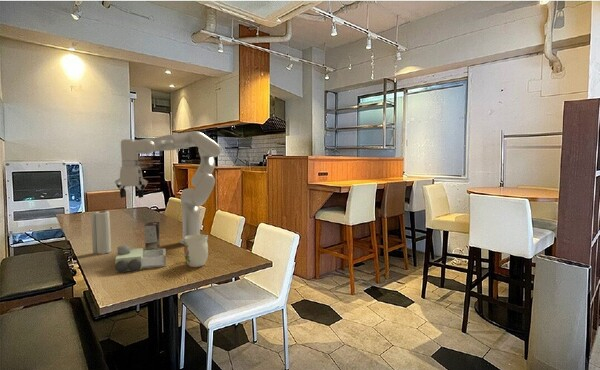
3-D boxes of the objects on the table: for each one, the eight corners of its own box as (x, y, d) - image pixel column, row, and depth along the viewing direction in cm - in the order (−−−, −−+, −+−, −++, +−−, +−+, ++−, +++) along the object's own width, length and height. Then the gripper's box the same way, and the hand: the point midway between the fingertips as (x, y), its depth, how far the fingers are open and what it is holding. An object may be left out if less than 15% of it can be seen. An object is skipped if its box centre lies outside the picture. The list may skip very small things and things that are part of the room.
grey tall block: (113, 251, 174) (112, 211, 173) (104, 254, 169) (102, 213, 167) (102, 250, 176) (101, 210, 175) (92, 253, 171) (90, 212, 169)
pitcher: (200, 257, 166) (200, 230, 165) (214, 267, 151) (214, 237, 150) (178, 261, 159) (177, 233, 158) (190, 272, 145) (189, 240, 144)
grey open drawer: (165, 258, 164) (165, 248, 164) (165, 266, 152) (165, 255, 152) (143, 260, 160) (143, 250, 160) (141, 268, 148) (141, 257, 148)
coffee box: (159, 256, 166) (158, 225, 165) (145, 258, 164) (144, 225, 163) (160, 251, 175) (159, 221, 174) (146, 252, 173) (146, 222, 171)
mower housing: (143, 258, 163) (143, 240, 162) (141, 270, 146) (140, 250, 145) (120, 261, 159) (119, 242, 158) (115, 273, 142) (114, 252, 141)
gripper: (150, 163, 171) (152, 196, 173) (119, 163, 173) (121, 196, 175) (141, 164, 164) (143, 198, 166) (109, 164, 166) (111, 198, 168)
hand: (132, 197), depth 170 cm, fingers open, 9 cm apart
